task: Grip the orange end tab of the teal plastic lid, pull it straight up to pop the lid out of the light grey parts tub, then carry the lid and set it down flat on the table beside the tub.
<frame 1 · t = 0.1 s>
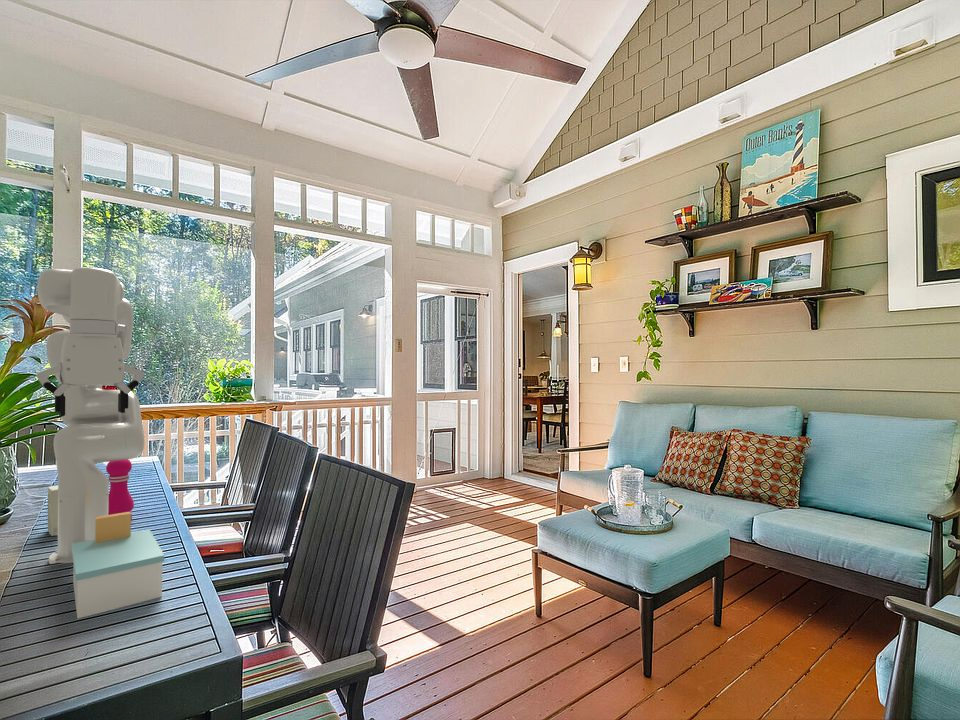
hand: (92, 414, 101), 36 cm above the table, tool pointing down, fingers open, 9 cm apart
walnut block: (128, 579, 106), point 1 cm above the table, touching tub
pepper mill: (118, 522, 144), on the table
skincare box: (59, 532, 135), on the table
lid: (116, 562, 101), point 6 cm above the table, touching tub
tub: (116, 594, 101), on the table
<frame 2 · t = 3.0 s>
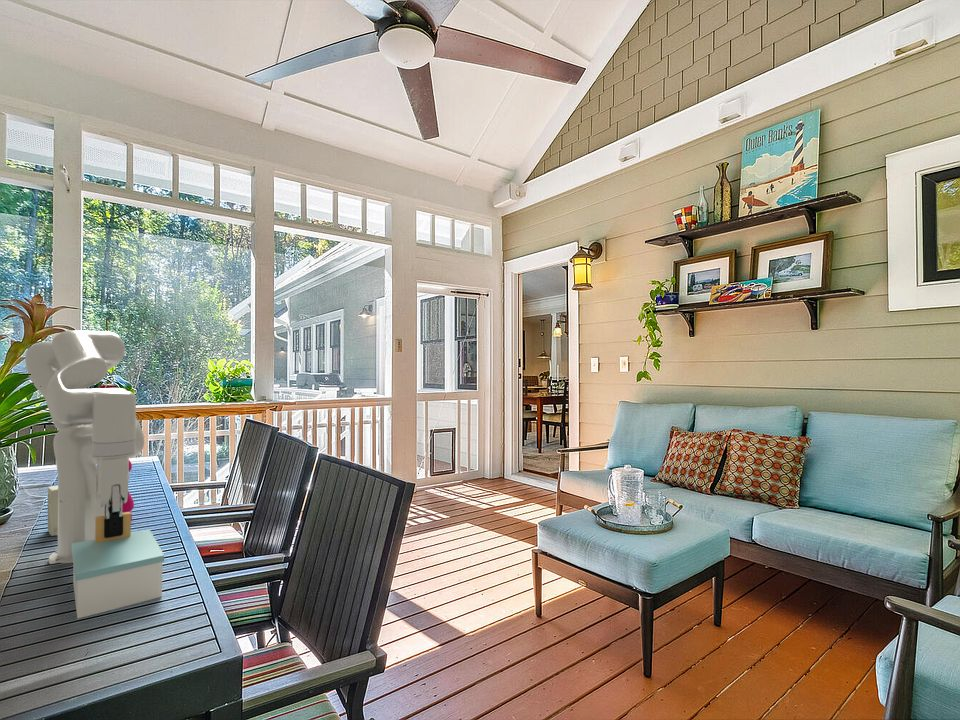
hand: (113, 534, 107), 10 cm above the table, tool pointing down, fingers closed on lid
lid: (116, 562, 101), point 7 cm above the table, touching gripper, tub
everything else where it was.
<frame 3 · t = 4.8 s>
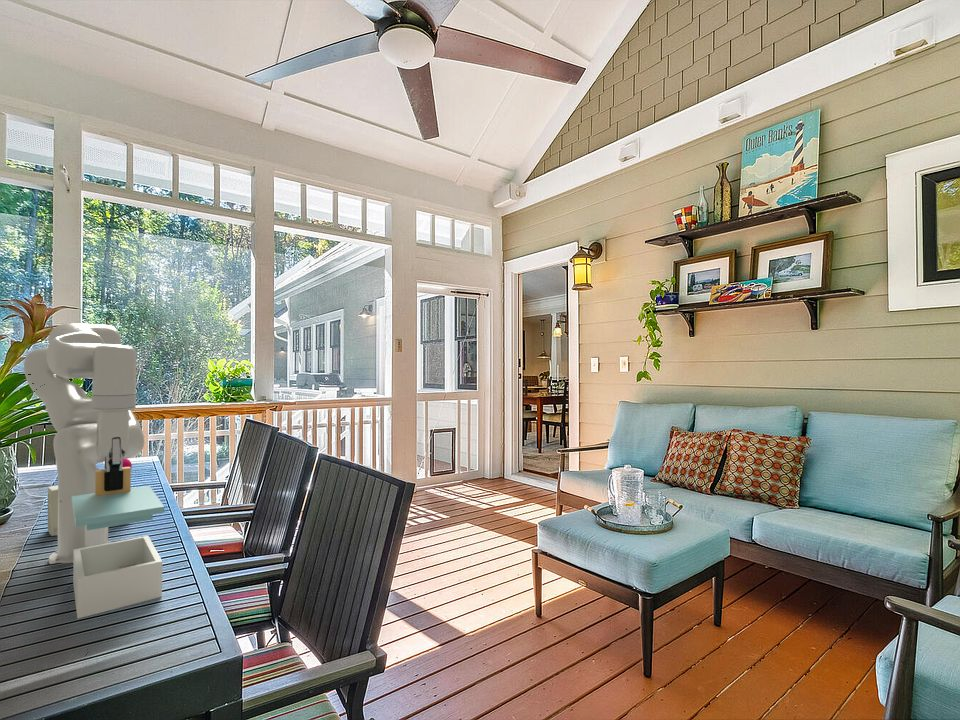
hand: (113, 488, 107), 20 cm above the table, tool pointing down, fingers closed on lid
lid: (116, 514, 101), point 16 cm above the table, touching gripper
everything else where it was.
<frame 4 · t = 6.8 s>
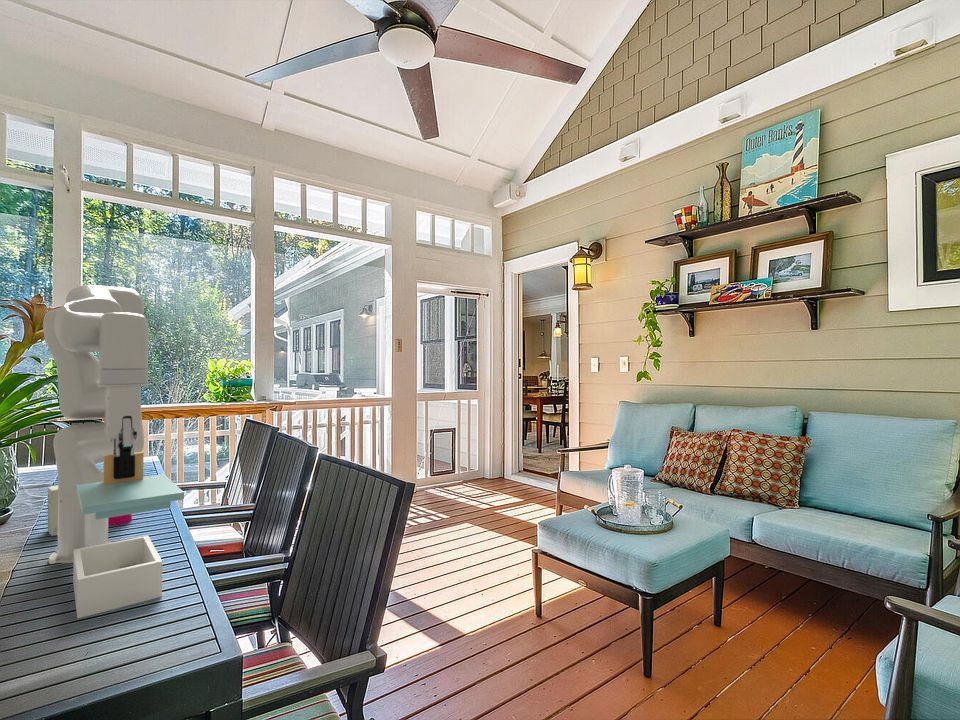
hand: (123, 476, 94), 26 cm above the table, tool pointing down, fingers closed on lid
lid: (128, 503, 88), point 22 cm above the table, touching gripper
everything else where it was.
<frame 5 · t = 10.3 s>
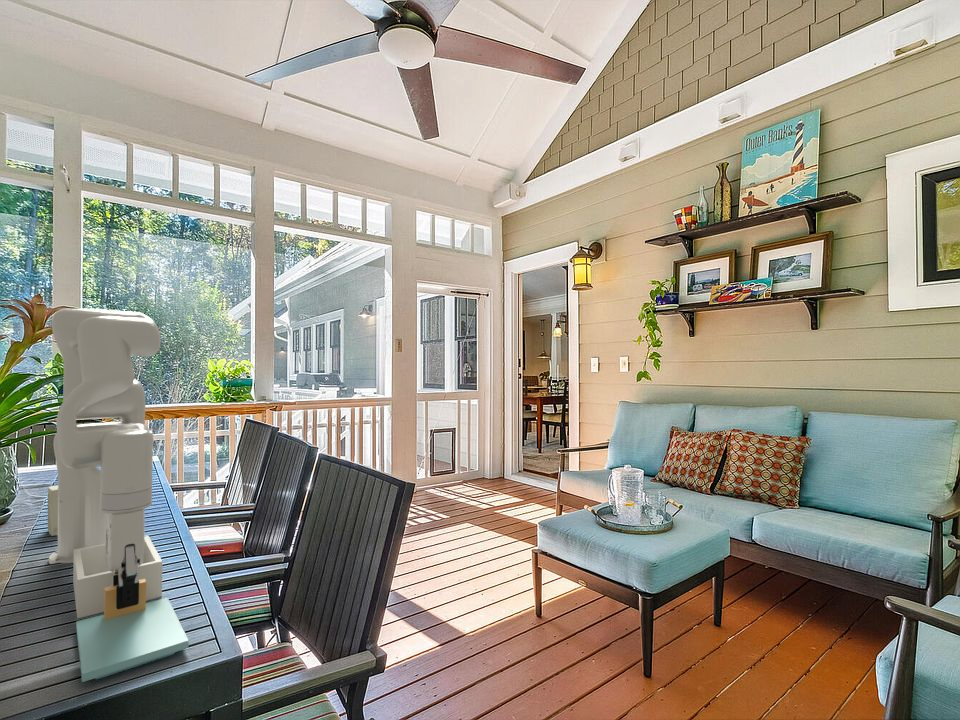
hand: (125, 599, 89), 5 cm above the table, tool pointing down, fingers open, 4 cm apart
lid: (130, 646, 84), on the table
everything else where it was.
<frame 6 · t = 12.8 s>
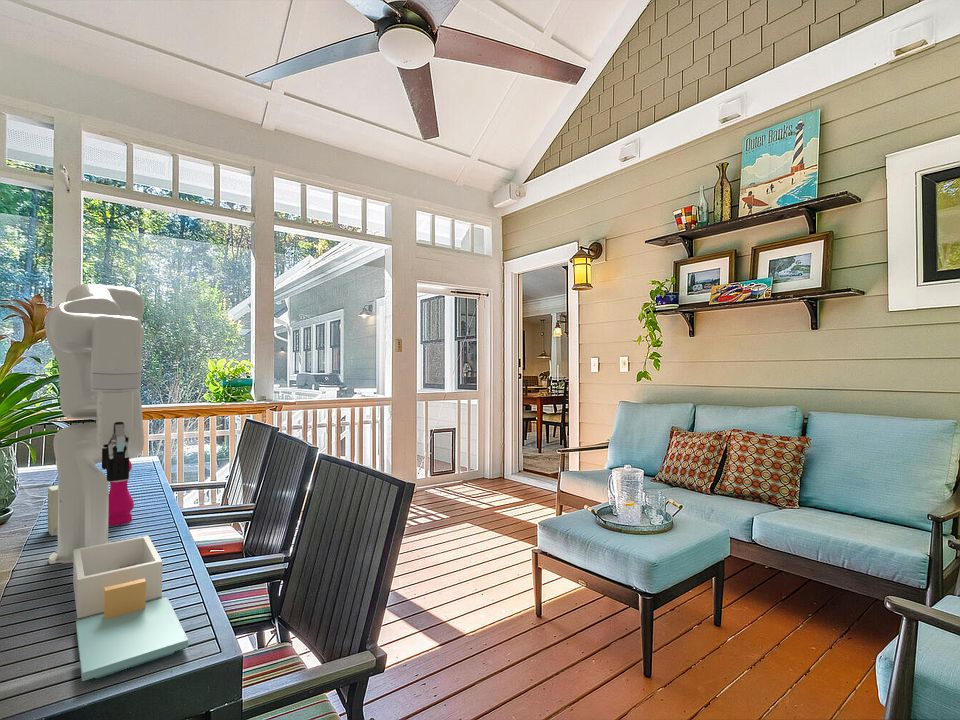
hand: (114, 473, 93), 26 cm above the table, tool pointing down, fingers open, 9 cm apart
nothing on the table moved.
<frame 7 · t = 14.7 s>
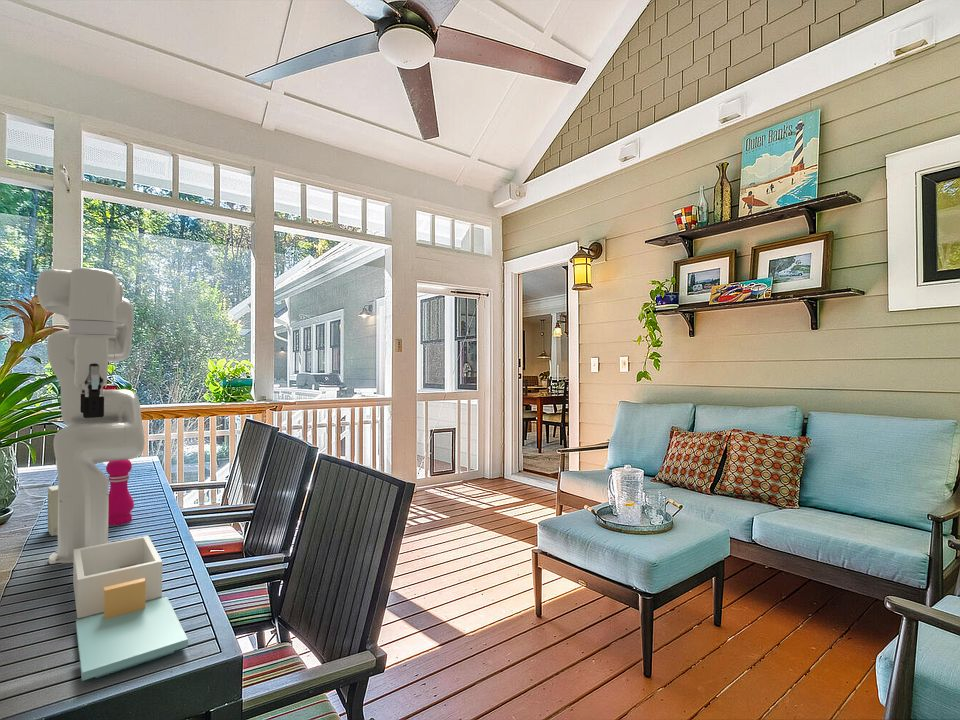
hand: (91, 414, 101), 36 cm above the table, tool pointing down, fingers open, 9 cm apart
nothing on the table moved.
at the end: lid inside the target area (0.9 cm from its centre), on the table; lid touching table; lid tilted 0° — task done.
